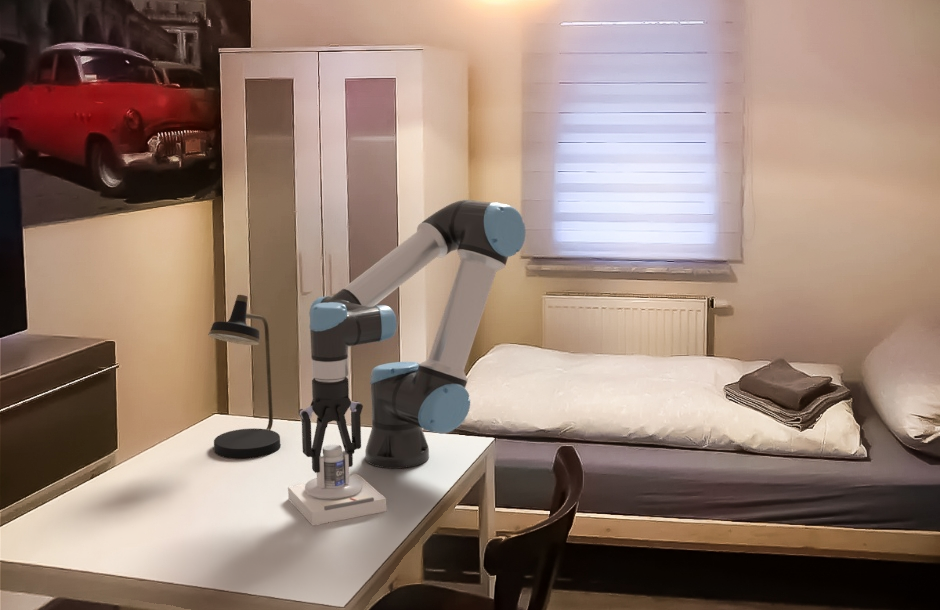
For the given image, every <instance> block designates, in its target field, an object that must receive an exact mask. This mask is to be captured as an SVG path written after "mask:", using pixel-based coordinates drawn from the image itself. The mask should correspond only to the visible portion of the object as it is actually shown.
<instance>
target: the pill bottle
mask: <svg viewBox="0 0 940 610" xmlns="http://www.w3.org/2000/svg"><path fill="white" fill-rule="evenodd" d="M342 448H343V447H342V446H341V445H339V444H328V445H324V446H322V454H323V455H321V456H322V457H323V458H324V485H325V488H332V489H333V488H339V487H342V486H343V485H344V457H343V455H342V451H343V449H342Z"/></svg>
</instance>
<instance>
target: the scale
mask: <svg viewBox="0 0 940 610" xmlns="http://www.w3.org/2000/svg"><path fill="white" fill-rule="evenodd" d="M287 492H288V493H287V494H288V495H287V497H288V501H289V502H291V503H292V505H293V506H294V507H295V508H296V509H297V510H298V511H299V512H300V513H301V515H302V516H303V517H304V518H305V519H306V520H307V521H308V522H309V523H310V524H311V526H317V525H322V524H329V523H334V522H338V521H343V520H344V521H345V520H347V519H353V518H354V519H355V518H358V517H364V516H369V515H373V514H378V513H383V512H387V498H386V497H385V496H384V495H383V494H382V493H380V492H379V490H377V489H376V488H374V486H372V485H371V484H370V483H369V482H367V480H365V479H364V478H363V477H362V476H361V475H359V473H358V474H351V475H349V484H345V483H344V485H343V486H342V487H339V488H333V489H332V488H320V487H319V486H318V485H317V477H315V478H312V479H310V480H308V481H307V482H306V483H302V484H301V483H300V484H297V485H296V484H295V485H291V486H290V485H289V486H287ZM328 522H329V523H328Z"/></svg>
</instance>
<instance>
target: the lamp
mask: <svg viewBox="0 0 940 610" xmlns="http://www.w3.org/2000/svg"><path fill="white" fill-rule="evenodd" d="M248 298H249V297H248V296H247V295H244V294H237V296H236V298H235V302H234V305H233V309H232V311H231V314H230V317H229V320H227V321H221V320H220V321H219V320H218V321H214V322H213V323H212V324H211V328H210V330H209V333H208V336H209V337H210V338H213V339H216V340H219V341H223V342H226V343H227V342H228V343H233V344H239V345H244V346H245V345H247V346H259V345H261V342H260V330H259V329H257V328H255V327H253V326H250V325H248V324H247V320H248V319H249V320H252V319H253V320H259V321H262V323H263V327H264V329H263V330H264V342H265V343H264V345H265V346H264V347H265V364H266V367H265V368H266V385H267V388H266V389H267V406H268V408H267V409H268V422H267V423H268V424H267V427H266V429H265V428H242V429H241V428H239V429H235V430H230V431H227V432H223V433H220V434H219V435H217V436H216V437H215V438H214V439H213V452H214V454H215V455H217V456H220V457H222V458H225V459H233V460H234V459H235V460H246V459H256V458H261V456H262V457H265V455H266V456H269V455H271V454H274V453H275V452H277V451H279V449H280V448H281V445H282V444H281V436H280V434H279V433H278V432H276V431H274V430H271V429H272V427H273V423H274V414H273V413H274V411H273V409H274V408H273V391H272V390H273V388H272V368H271V350H270V329H269V324H268V323H269V322H268V321H267V319H266V317H264V316H262V315H259V314H254V313H248V311H247V310H248Z"/></svg>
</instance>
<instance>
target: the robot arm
mask: <svg viewBox="0 0 940 610" xmlns="http://www.w3.org/2000/svg"><path fill="white" fill-rule="evenodd" d="M525 241H526V224H525V222H524V221H523V217H522V214H521V213H520V211H518V209H517V208H516V207H514V206H512V205H511V204H510V205H509V204H505V203H502V202H497V201H494V202H493V201H492V202H490V201H479V200H471V199H463V200H462V199H461V200H458V201H455V202H453V203H450V204H448V205H446V206H444V207H442V208H441V209H439V210H437V211H435V212H434V213H433V214H431V215H430V216H428V217H427V218H426V219H424V220H423V221H422V222H421V223H419V224H418V225H417V227H416V232H415V233H413V234H412V235H411V236H410V237H408V238H407V239H406V240H404V241H403V242H401V243H400V244H398V246H396V247H394V248H393V249H392V250H391V251H390V252H388V253H387V254H386V255H385V256H383V257H381V259H380V260H378V261H377V262H376V263H375V264H373V265H372V266H371V267H369V268H368V269H366V270H365V271H364V272H363V273H361V274H360V275H359V276H358V277H355V279H353V280H352V281H351V282H350V283H348V284H347V285H346V286H344V287H343V288H342V289H340V290H339V291H338V292H337V293H334V295H333V296H327V295H326V296H320V297H317V298H316V299H315V300H314V301H312V303H311V305H310V308H309V330H310V331H309V332H310V354H311V358H310V359H311V361H310V362H311V377H312V378H313V379H312V380H311V388H312V389H311V390H312V391H311V393H312V394H311V396H312V400H311V403H310V406H308V407H306V408H300V409H299V410H298V415H299V417H300V420H301V440H302V441H301V443H302V447H301V448H302V453H303V454H304V455H305V456H306V458H311V468H312V471H313V472H314V474H316V478H317V485H318V486H319V487H320V488H325V485H324V458H323V457H322V456H323V455H321V453H322V451H323V444H324V440H325V434H326V429H327V428H328V424H329V423H331V422H336V425H337V427H338V432H339V435H340V439H341V442H342V445H343V449H344V450H342V455H343V457H344V483H345V484H349V476H350V468H352V467H353V465H354V462H353V461H354V460H353V459H354V458H353V457H354V453H355V451H356V450H359V449H362V430H361V429H362V428H361V427H362V426H361V423H362V422H361V421H362V420H361V414H362V411H363V407H364V405H363V404H362V403H361V402H359V401H357V400H355V401H352V400H351V399H350V397H349V394H350V393H349V388H350V386H349V378H348V376H349V359H348V357H349V356H348V353H349V347H354V346H359V345H360V346H361V345H364V344H365V345H366V344H371V343H380V342H383V341H385V340H386V341H387V340H389V339H391V338H393V337H394V336H395V334H396V332H397V328H398V326H397V324H398V323H397V321H398V320H397V317H396V314H395V312H394V310H393V308H391V307H390V306H388V305H385V304H381V305H378V304H379V303H381V302H382V301H383V300H384V299H385V298H386V297H388V296H389V295H391V294H392V293H393V292H394V291H395V290H397V289H398V288H399V287H400V286H402V285H403V284H405V283H406V282H407V281H408V280H410V278H412V277H413V276H415V275H416V274H417V273H418V272H419V271H421V270H422V269H424V268H425V267H426V266H427V265H429V264H430V263H431V262H432V261H434V260H435V259H436V258H444V257H446V256H447V255H448V254H450V253H451V252H453V251H456V253H457V255H458V257H459V258H460V262H459V265H458V268H457V270H456V271H457V272H456V274H455V277H454V280H453V283H452V286H451V288H450V292H449V294H448V299H447V301H446V304H445V306H444V309H443V313H442V317H441V319H440V322H439V325H438V328H437V331H436V334H435V337H434V340H433V343H432V346H431V349H430V353H429V355H428V358H427V359H426V360H425V361H422V362H421V363H418V362H416V361H396V362H388V363H384V364H379V365H377V366H375V367H373V369H371V374H370V383H369V384H370V393H371V394H370V395H371V396H370V398H371V399H370V401H371V425H372V427H371V431H370V434H369V437H368V440H367V444H366V446H365V461H366V462H367V463H368V464H370V465H373V466H376V467H379V468H384V469H385V468H386V469H404V468H411V467H415V466H419V465H422V464H423V463H425V462H427V461H428V460H429V458H430V449H429V445H428V442H427V439H426V435H425V433H424V430H425V431H428V432H432V433H433V432H434V433H438V434H448V433H451V432H453V431H454V430H455V429H457V428H459V427H460V426H461V425H462V424H463V422H465V420H466V418H467V416H468V414H469V411H470V408H471V399H470V394H469V391H468V390H467V389H466V387H467V384H468V378H467V375H466V373H465V368H466V365H467V362H468V360H469V356H470V353H471V350H472V347H473V344H474V341H475V339H476V334H477V332H478V329H479V326H480V323H481V320H482V316H483V313H484V311H485V308H486V305H487V303H488V302H487V301H488V300H489V299H488V298H489V297H490V292H491V289H492V286H493V283H494V279H495V277H496V275H497V272H498V271H500V270H502V269H504V268H505V267H506V266H507V265H506V264H507V262H508V258H509V257H512V256H514V255H516V254H517V253H519V252H520V251H521V250H522V248H523V245H524V244H525ZM348 410H350V422H351V423H350V425H351V426H350V427H351V428H350V429H351V436H350V432H349V429H348V425H347V421H346V416H345V415H346V414H347V412H348ZM312 413H314V414H315V415H316V426H315V431H314V437H313V441H312V422H311V421H312V420H311V419H312V416H313V414H312Z"/></svg>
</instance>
